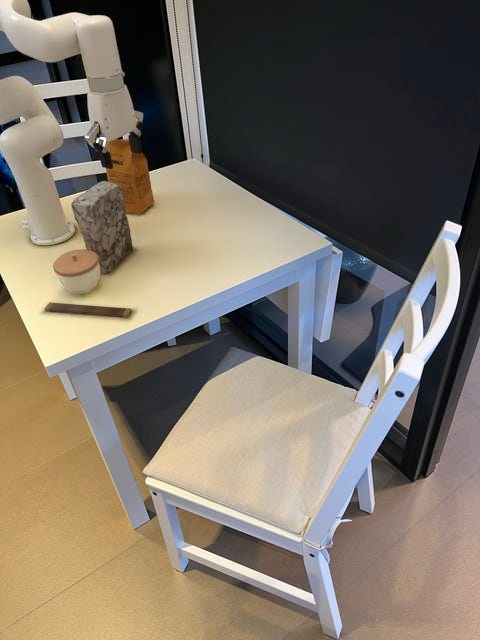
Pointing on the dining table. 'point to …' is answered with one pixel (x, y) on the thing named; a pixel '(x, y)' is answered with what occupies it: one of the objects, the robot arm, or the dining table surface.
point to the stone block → (104, 224)
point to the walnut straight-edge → (88, 310)
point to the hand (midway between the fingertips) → (122, 160)
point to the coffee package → (130, 176)
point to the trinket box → (78, 270)
